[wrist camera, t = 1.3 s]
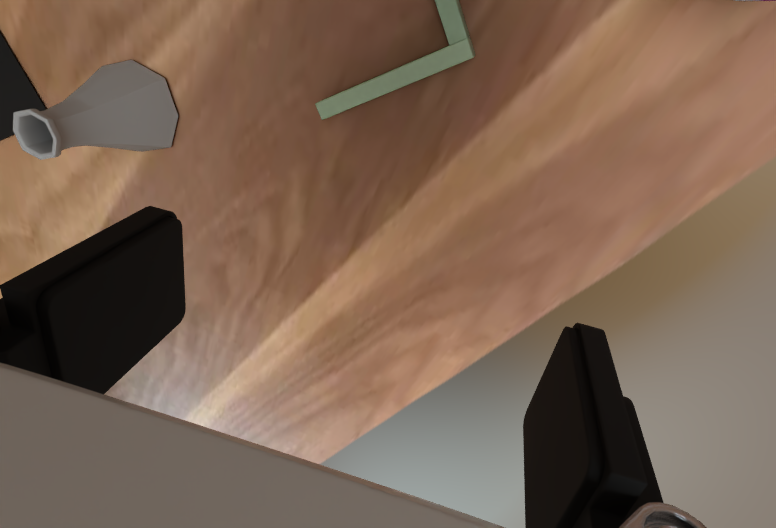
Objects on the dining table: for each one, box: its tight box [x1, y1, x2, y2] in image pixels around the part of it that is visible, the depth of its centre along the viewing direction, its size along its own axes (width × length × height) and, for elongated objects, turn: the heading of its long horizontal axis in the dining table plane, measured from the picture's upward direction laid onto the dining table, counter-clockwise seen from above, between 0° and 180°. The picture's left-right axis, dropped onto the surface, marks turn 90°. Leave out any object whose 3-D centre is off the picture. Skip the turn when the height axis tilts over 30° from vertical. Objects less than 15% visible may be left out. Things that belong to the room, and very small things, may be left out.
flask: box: [13, 60, 178, 160], centre depth 35 cm, size 7×7×10 cm
